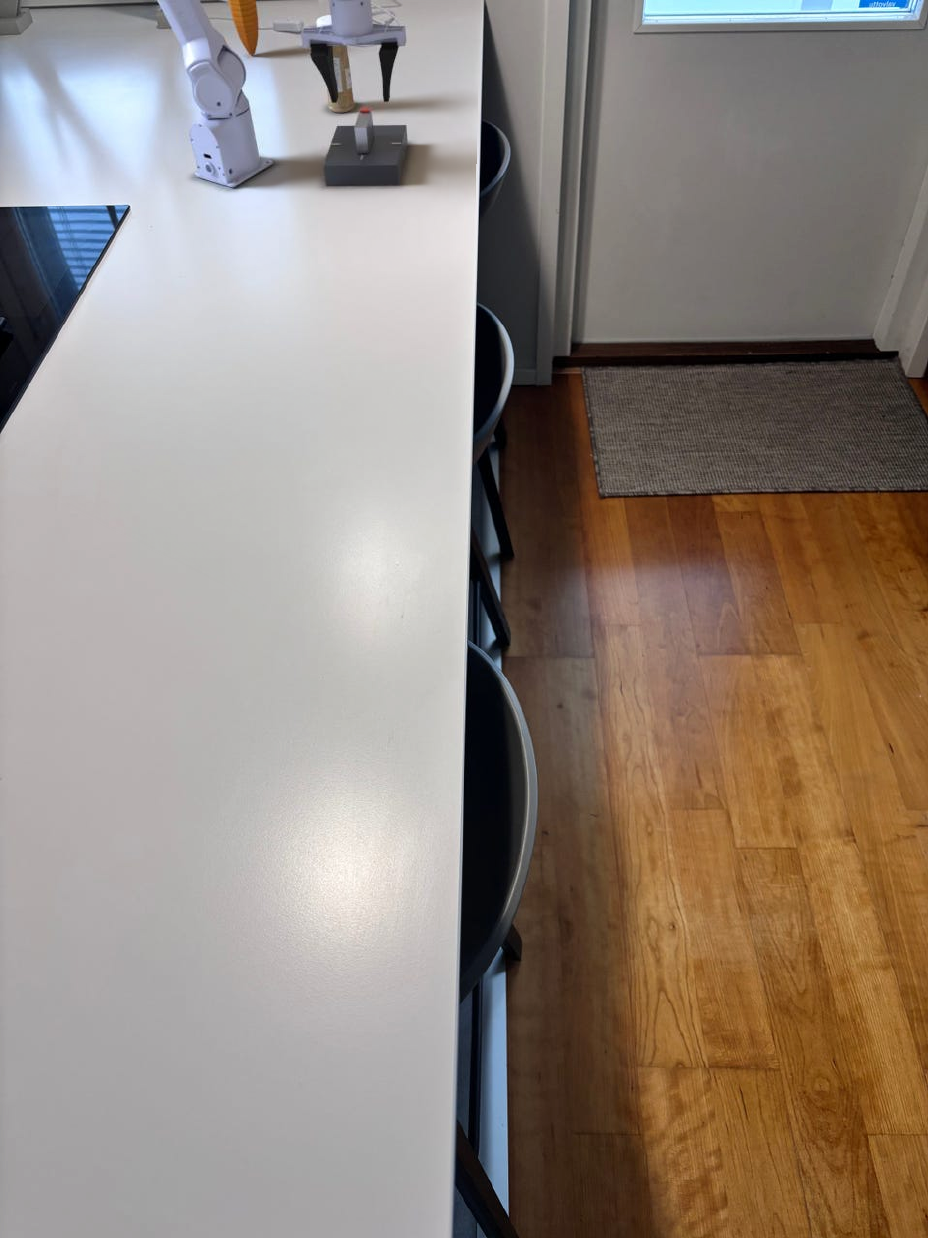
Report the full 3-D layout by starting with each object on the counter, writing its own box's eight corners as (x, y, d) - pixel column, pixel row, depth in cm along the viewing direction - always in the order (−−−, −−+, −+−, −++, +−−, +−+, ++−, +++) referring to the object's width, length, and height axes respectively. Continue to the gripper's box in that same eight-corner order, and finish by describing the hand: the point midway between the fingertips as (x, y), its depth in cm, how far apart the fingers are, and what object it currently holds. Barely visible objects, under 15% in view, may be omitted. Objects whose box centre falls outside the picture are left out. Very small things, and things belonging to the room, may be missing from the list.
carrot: (263, 60, 177) (246, -35, 165) (237, 61, 177) (218, -34, 165) (267, 50, 180) (250, -44, 168) (241, 51, 180) (223, -43, 169)
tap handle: (369, 153, 142) (366, 125, 139) (357, 153, 142) (353, 125, 139) (374, 134, 146) (371, 107, 143) (362, 134, 147) (359, 107, 143)
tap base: (398, 185, 142) (396, 163, 139) (326, 185, 143) (322, 164, 140) (407, 144, 151) (406, 123, 148) (339, 144, 152) (336, 124, 149)
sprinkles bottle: (360, 107, 161) (350, 17, 151) (339, 115, 159) (328, 25, 149) (343, 100, 163) (332, 11, 153) (322, 108, 161) (310, 18, 151)
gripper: (291, 4, 127) (307, 111, 137) (398, 1, 126) (407, 109, 136) (300, -14, 132) (315, 91, 142) (404, -16, 131) (411, 90, 141)
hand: (360, 99), depth 140 cm, fingers open, 7 cm apart
